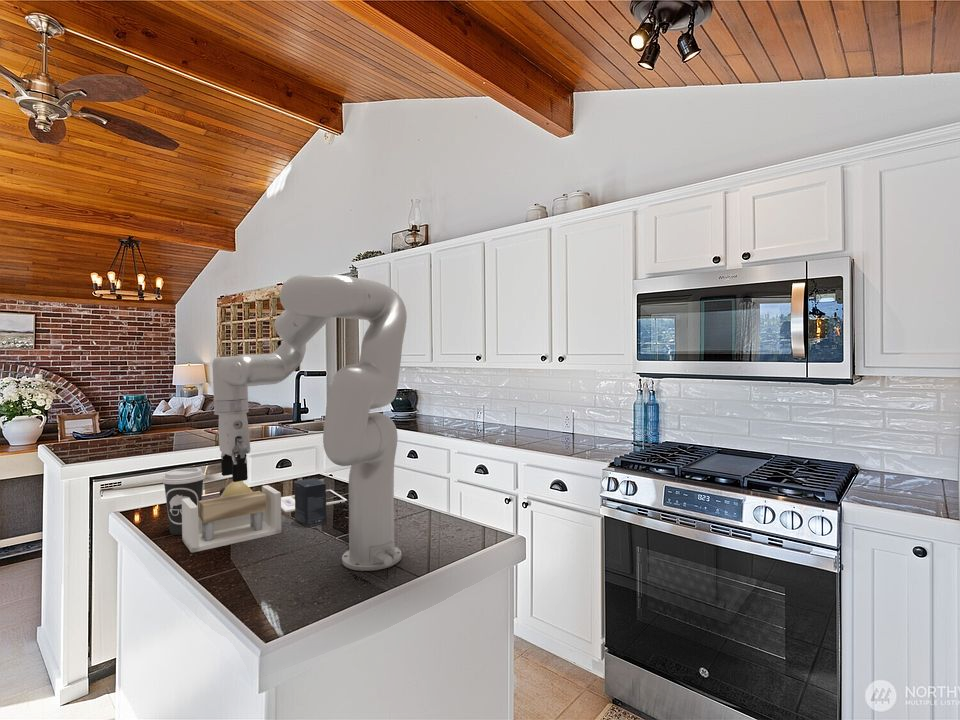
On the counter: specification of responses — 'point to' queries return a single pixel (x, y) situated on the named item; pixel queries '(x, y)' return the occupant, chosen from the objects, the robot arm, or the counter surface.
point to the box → (310, 502)
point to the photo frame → (289, 502)
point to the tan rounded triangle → (235, 489)
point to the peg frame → (230, 524)
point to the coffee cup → (181, 493)
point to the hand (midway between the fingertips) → (234, 477)
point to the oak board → (232, 506)
